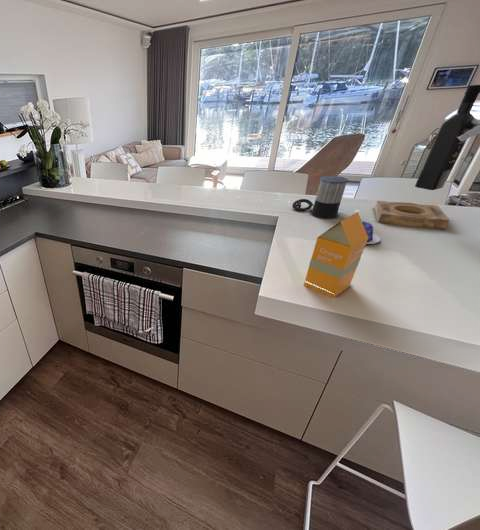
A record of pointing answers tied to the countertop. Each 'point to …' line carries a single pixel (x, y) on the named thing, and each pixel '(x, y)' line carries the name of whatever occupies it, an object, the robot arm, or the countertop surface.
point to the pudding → (370, 233)
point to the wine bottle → (448, 144)
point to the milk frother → (325, 197)
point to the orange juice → (337, 256)
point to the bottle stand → (411, 214)
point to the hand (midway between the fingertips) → (449, 137)
